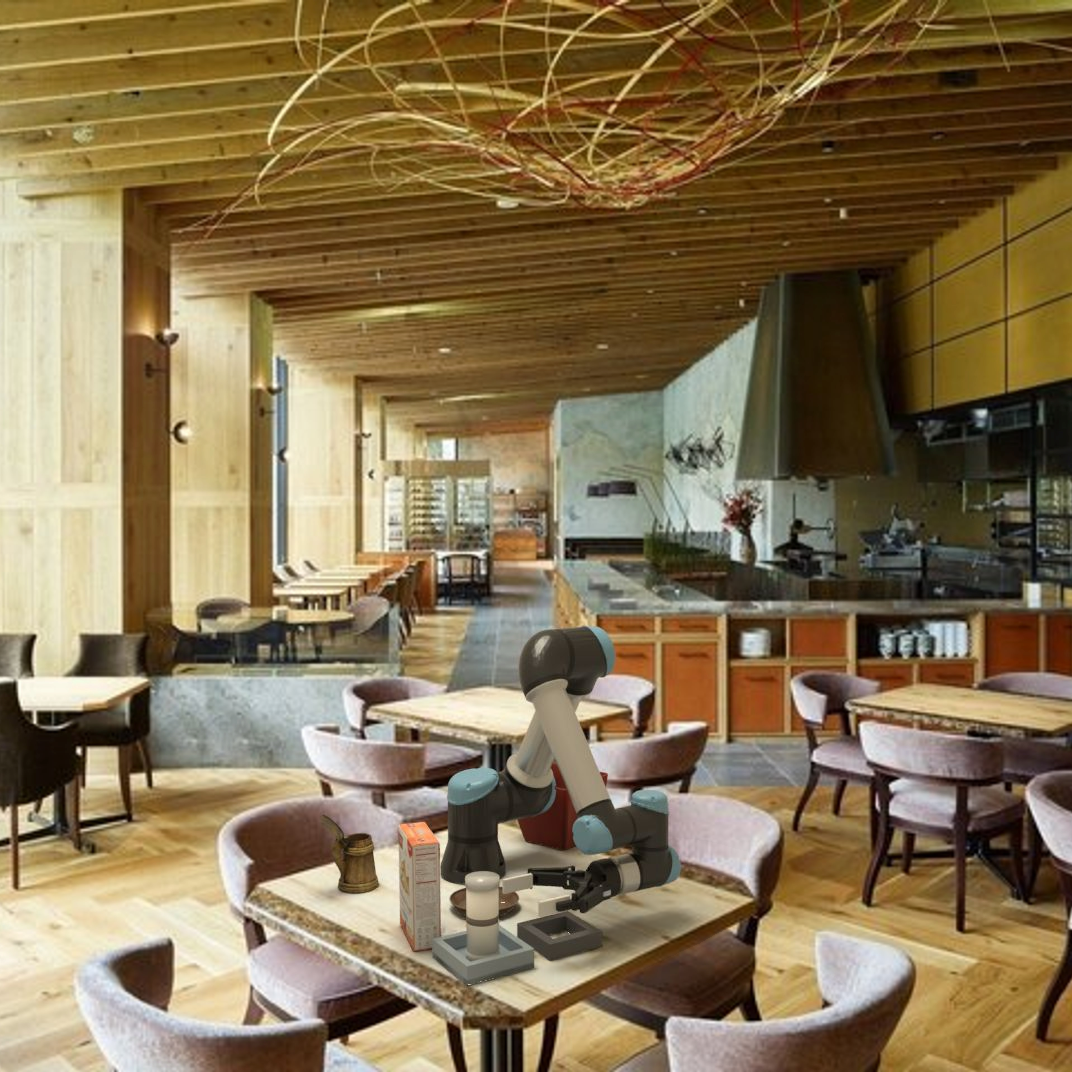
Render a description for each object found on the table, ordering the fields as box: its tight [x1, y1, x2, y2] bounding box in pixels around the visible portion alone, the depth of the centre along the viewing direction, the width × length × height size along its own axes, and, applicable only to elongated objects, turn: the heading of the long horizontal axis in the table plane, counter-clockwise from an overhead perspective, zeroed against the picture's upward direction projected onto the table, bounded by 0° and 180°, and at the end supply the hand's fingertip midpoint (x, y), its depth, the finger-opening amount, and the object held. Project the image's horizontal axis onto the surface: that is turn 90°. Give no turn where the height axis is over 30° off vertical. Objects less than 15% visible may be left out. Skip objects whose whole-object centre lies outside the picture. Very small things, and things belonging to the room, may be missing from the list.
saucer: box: [449, 886, 520, 917], centre depth 220 cm, size 15×15×3 cm
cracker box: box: [397, 821, 442, 952], centre depth 205 cm, size 14×6×21 cm, turn 18°
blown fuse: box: [464, 871, 500, 962], centre depth 193 cm, size 6×6×15 cm
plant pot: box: [517, 762, 609, 851], centre depth 265 cm, size 19×19×17 cm
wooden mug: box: [321, 814, 380, 894], centre depth 231 cm, size 9×14×18 cm, turn 132°
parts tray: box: [431, 924, 535, 986], centre depth 193 cm, size 14×14×4 cm
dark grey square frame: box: [516, 910, 603, 961], centre depth 202 cm, size 12×12×3 cm
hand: (520, 897), depth 197 cm, fingers open, 13 cm apart
